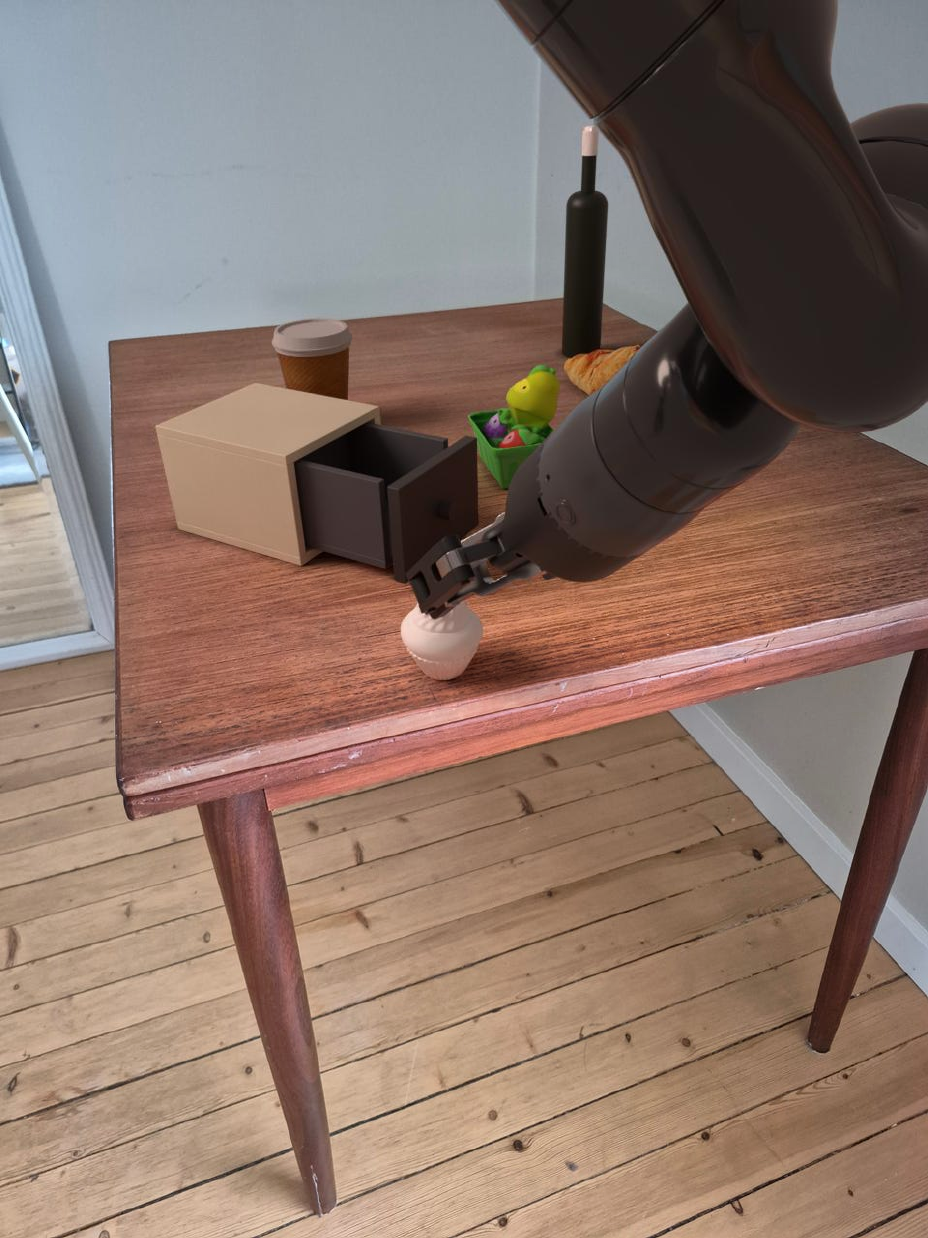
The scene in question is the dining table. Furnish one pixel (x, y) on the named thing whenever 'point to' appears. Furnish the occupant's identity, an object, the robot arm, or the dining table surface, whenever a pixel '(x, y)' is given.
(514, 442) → the fruit basket
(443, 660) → the muffin
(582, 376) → the croissant
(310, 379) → the disposable coffee cup
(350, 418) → the cabinet
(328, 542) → the pulled-out nightstand drawer
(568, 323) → the wine bottle
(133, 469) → the dining table surface
